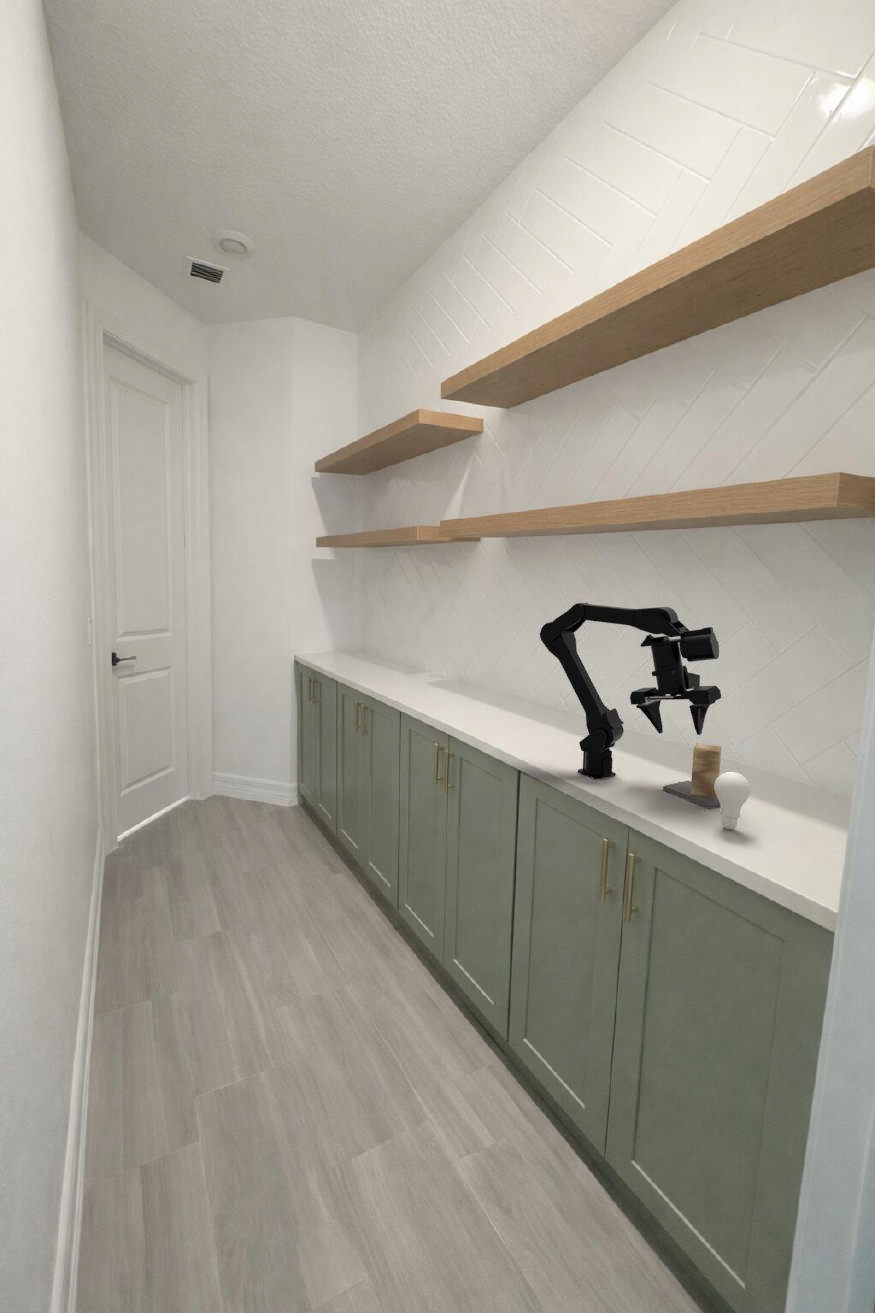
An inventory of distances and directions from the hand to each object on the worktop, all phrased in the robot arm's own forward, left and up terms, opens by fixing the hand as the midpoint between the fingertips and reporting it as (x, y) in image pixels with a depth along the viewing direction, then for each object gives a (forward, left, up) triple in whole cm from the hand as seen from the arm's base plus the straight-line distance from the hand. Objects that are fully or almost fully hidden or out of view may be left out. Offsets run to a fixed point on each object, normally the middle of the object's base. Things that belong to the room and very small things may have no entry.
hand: (679, 733), depth 131 cm
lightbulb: (+19, -8, -13) cm, 24 cm away
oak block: (+6, +2, -12) cm, 13 cm away
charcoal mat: (+5, +1, -13) cm, 14 cm away
